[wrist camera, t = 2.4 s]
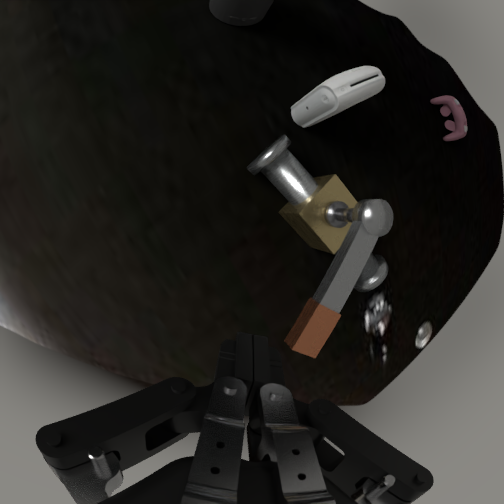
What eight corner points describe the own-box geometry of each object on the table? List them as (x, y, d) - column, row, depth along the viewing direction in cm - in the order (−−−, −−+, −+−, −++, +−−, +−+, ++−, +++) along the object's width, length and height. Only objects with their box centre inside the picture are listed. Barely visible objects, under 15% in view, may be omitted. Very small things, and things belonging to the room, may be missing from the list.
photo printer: (300, 133, 38) (346, 108, 26) (284, 108, 36) (325, 75, 25) (347, 108, 39) (398, 85, 27) (333, 86, 38) (380, 56, 26)
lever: (360, 192, 27) (375, 191, 25) (383, 211, 28) (397, 211, 26) (281, 339, 27) (290, 350, 25) (308, 350, 28) (319, 360, 26)
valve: (240, 172, 36) (271, 156, 24) (275, 139, 37) (317, 113, 25) (345, 287, 43) (397, 312, 31) (371, 255, 44) (426, 270, 32)
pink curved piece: (445, 141, 48) (471, 136, 42) (443, 143, 45) (471, 137, 40) (431, 99, 45) (457, 93, 40) (428, 98, 43) (456, 91, 37)
